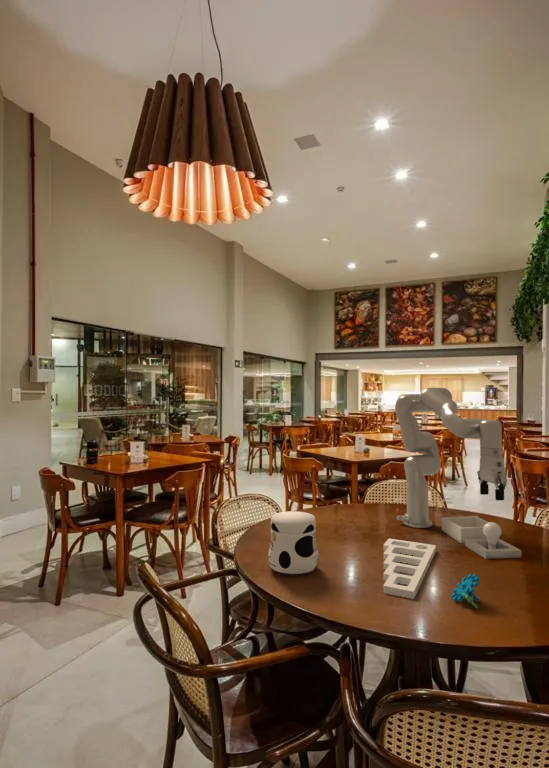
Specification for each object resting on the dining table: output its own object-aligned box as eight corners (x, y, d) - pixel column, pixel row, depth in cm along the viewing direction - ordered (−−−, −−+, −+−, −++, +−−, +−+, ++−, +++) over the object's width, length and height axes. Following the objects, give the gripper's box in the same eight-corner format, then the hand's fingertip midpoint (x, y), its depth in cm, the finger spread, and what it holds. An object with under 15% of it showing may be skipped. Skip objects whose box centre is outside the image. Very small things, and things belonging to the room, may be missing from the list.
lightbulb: (500, 549, 172) (499, 520, 172) (502, 555, 166) (502, 525, 166) (482, 547, 174) (481, 519, 174) (484, 553, 168) (483, 523, 168)
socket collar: (485, 558, 162) (485, 552, 162) (465, 545, 176) (465, 539, 176) (521, 557, 164) (521, 550, 164) (498, 544, 178) (498, 538, 178)
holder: (413, 600, 131) (413, 591, 131) (354, 588, 139) (354, 579, 139) (436, 552, 171) (435, 545, 171) (388, 545, 179) (388, 538, 179)
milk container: (260, 564, 158) (260, 513, 158) (304, 557, 165) (304, 508, 165) (280, 583, 142) (280, 526, 142) (328, 574, 149) (327, 520, 149)
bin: (461, 543, 179) (460, 528, 179) (441, 531, 195) (441, 517, 195) (498, 541, 181) (498, 526, 181) (476, 529, 197) (476, 516, 197)
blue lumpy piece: (449, 585, 137) (474, 566, 133) (464, 600, 136) (490, 581, 132) (449, 606, 126) (477, 586, 123) (465, 622, 125) (493, 603, 122)
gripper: (514, 455, 163) (515, 502, 162) (486, 449, 180) (487, 492, 180) (495, 455, 162) (496, 502, 162) (469, 449, 179) (470, 492, 179)
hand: (491, 497), depth 171 cm, fingers open, 9 cm apart
